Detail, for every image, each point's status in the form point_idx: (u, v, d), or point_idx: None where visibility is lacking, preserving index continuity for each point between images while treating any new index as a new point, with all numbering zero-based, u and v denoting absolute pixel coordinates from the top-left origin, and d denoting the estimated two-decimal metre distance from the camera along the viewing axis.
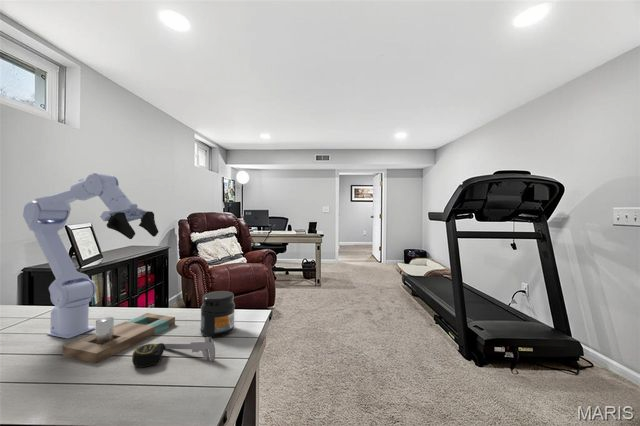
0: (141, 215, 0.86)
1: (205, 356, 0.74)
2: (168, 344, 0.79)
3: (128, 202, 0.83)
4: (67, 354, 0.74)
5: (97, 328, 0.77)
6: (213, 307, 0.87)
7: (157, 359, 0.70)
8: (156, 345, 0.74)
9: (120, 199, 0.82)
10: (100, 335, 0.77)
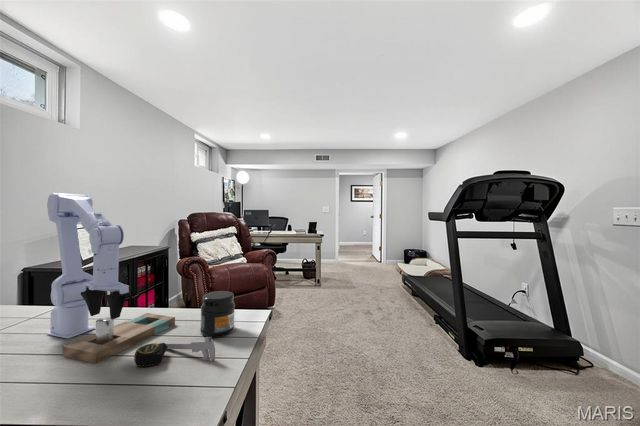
0: None
1: (205, 356, 0.74)
2: (168, 344, 0.79)
3: (95, 279, 0.76)
4: (67, 354, 0.74)
5: (97, 328, 0.77)
6: (213, 307, 0.87)
7: (159, 358, 0.70)
8: (158, 345, 0.74)
9: (93, 273, 0.77)
10: (100, 335, 0.77)
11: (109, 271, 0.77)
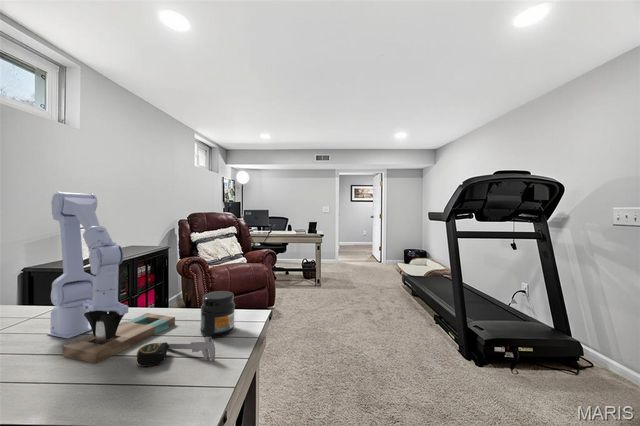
0: (114, 310, 0.78)
1: (205, 356, 0.74)
2: (168, 344, 0.79)
3: (95, 300, 0.76)
4: (67, 354, 0.74)
5: (97, 328, 0.77)
6: (213, 307, 0.87)
7: (161, 358, 0.70)
8: (160, 344, 0.75)
9: (92, 294, 0.77)
10: (100, 335, 0.77)
11: (109, 292, 0.77)
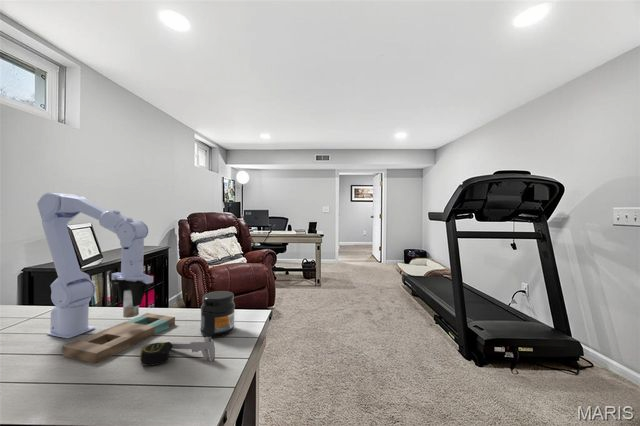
0: (140, 280, 0.85)
1: (205, 356, 0.74)
2: None
3: (123, 270, 0.84)
4: (67, 354, 0.74)
5: (125, 296, 0.85)
6: (213, 307, 0.87)
7: (165, 357, 0.71)
8: (163, 344, 0.75)
9: (121, 265, 0.85)
10: (127, 303, 0.85)
11: (135, 263, 0.85)
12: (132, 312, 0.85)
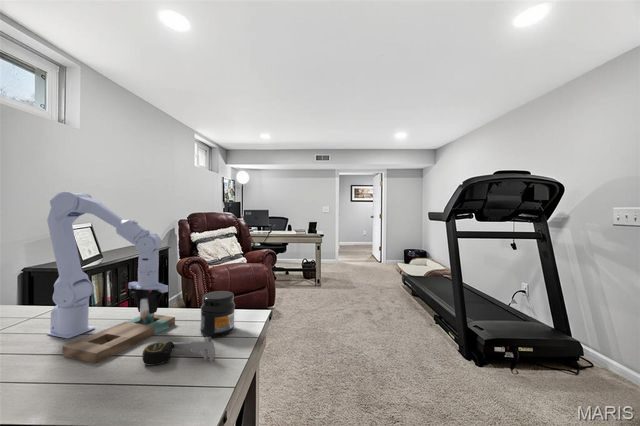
0: (156, 289, 0.91)
1: (205, 356, 0.74)
2: None
3: (140, 280, 0.90)
4: (67, 354, 0.74)
5: (142, 304, 0.90)
6: (213, 307, 0.87)
7: (167, 357, 0.71)
8: (165, 343, 0.75)
9: (138, 275, 0.90)
10: (144, 310, 0.90)
11: (152, 273, 0.91)
12: (148, 320, 0.91)
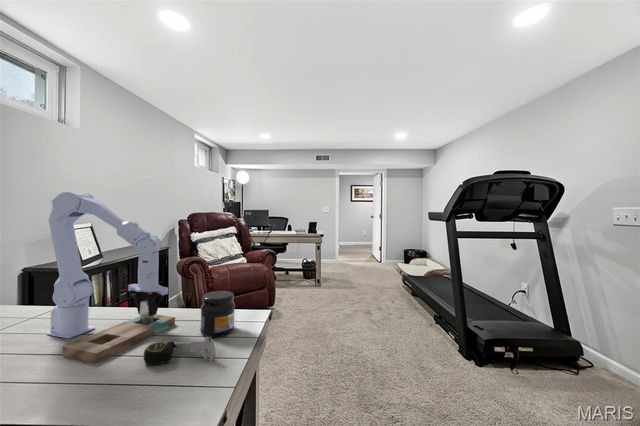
0: (156, 291, 0.91)
1: (205, 356, 0.74)
2: None
3: (140, 283, 0.90)
4: (67, 354, 0.74)
5: (142, 307, 0.90)
6: (213, 307, 0.87)
7: (168, 357, 0.71)
8: (166, 343, 0.75)
9: (138, 277, 0.90)
10: (144, 313, 0.90)
11: (152, 275, 0.91)
12: (148, 322, 0.91)
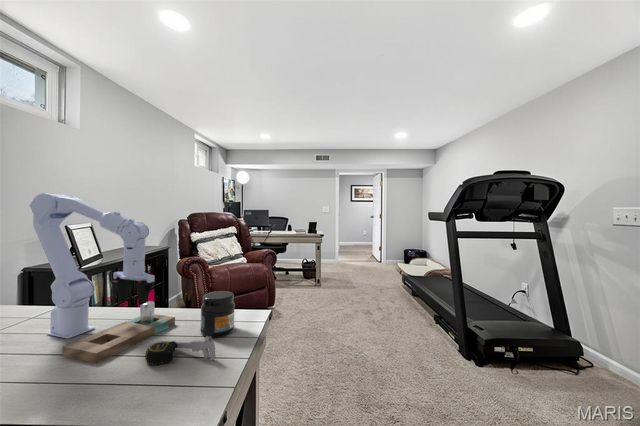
0: (142, 279, 0.89)
1: (205, 355, 0.74)
2: None
3: (125, 270, 0.87)
4: (67, 354, 0.74)
5: (142, 310, 0.91)
6: (213, 307, 0.87)
7: (170, 357, 0.71)
8: (168, 343, 0.76)
9: (123, 264, 0.88)
10: (144, 316, 0.90)
11: (137, 263, 0.88)
12: None
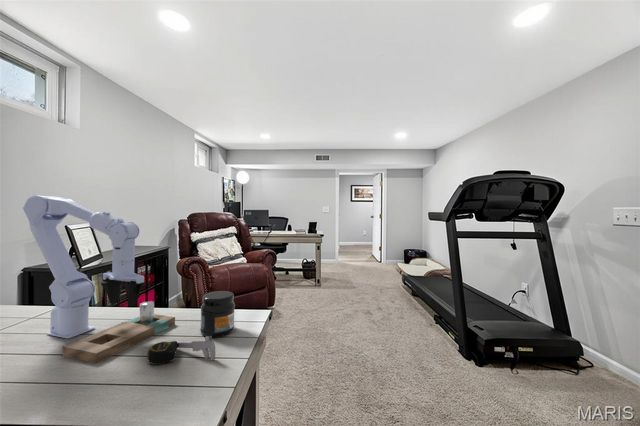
0: None
1: (205, 355, 0.74)
2: None
3: (114, 270, 0.86)
4: (67, 354, 0.74)
5: (141, 310, 0.90)
6: (213, 307, 0.87)
7: (171, 356, 0.71)
8: (170, 343, 0.76)
9: (112, 265, 0.86)
10: (143, 316, 0.90)
11: (127, 263, 0.86)
12: None
